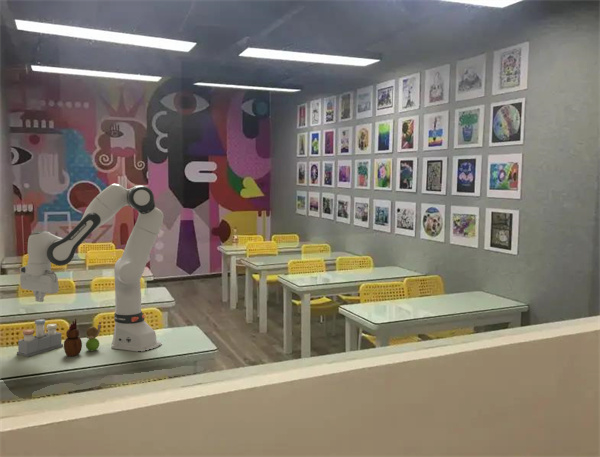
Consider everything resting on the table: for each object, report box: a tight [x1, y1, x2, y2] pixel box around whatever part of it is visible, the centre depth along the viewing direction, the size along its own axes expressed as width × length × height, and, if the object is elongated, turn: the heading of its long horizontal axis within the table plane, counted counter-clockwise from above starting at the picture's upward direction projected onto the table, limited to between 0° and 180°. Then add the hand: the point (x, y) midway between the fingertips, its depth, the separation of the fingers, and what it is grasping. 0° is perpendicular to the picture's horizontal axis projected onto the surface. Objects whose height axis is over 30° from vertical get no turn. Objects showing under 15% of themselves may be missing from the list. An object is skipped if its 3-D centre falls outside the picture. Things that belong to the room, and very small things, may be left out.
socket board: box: [16, 331, 64, 358], centre depth 220 cm, size 7×17×6 cm, turn 153°
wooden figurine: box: [63, 318, 83, 357], centre depth 214 cm, size 7×6×15 cm
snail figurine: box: [85, 321, 102, 352], centre depth 222 cm, size 5×6×12 cm
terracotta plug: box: [22, 329, 35, 342], centre depth 215 cm, size 4×4×8 cm
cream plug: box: [46, 323, 58, 335], centre depth 225 cm, size 4×4×8 cm
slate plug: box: [34, 318, 46, 339], centre depth 220 cm, size 4×4×8 cm
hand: (39, 301), depth 219 cm, fingers closed
